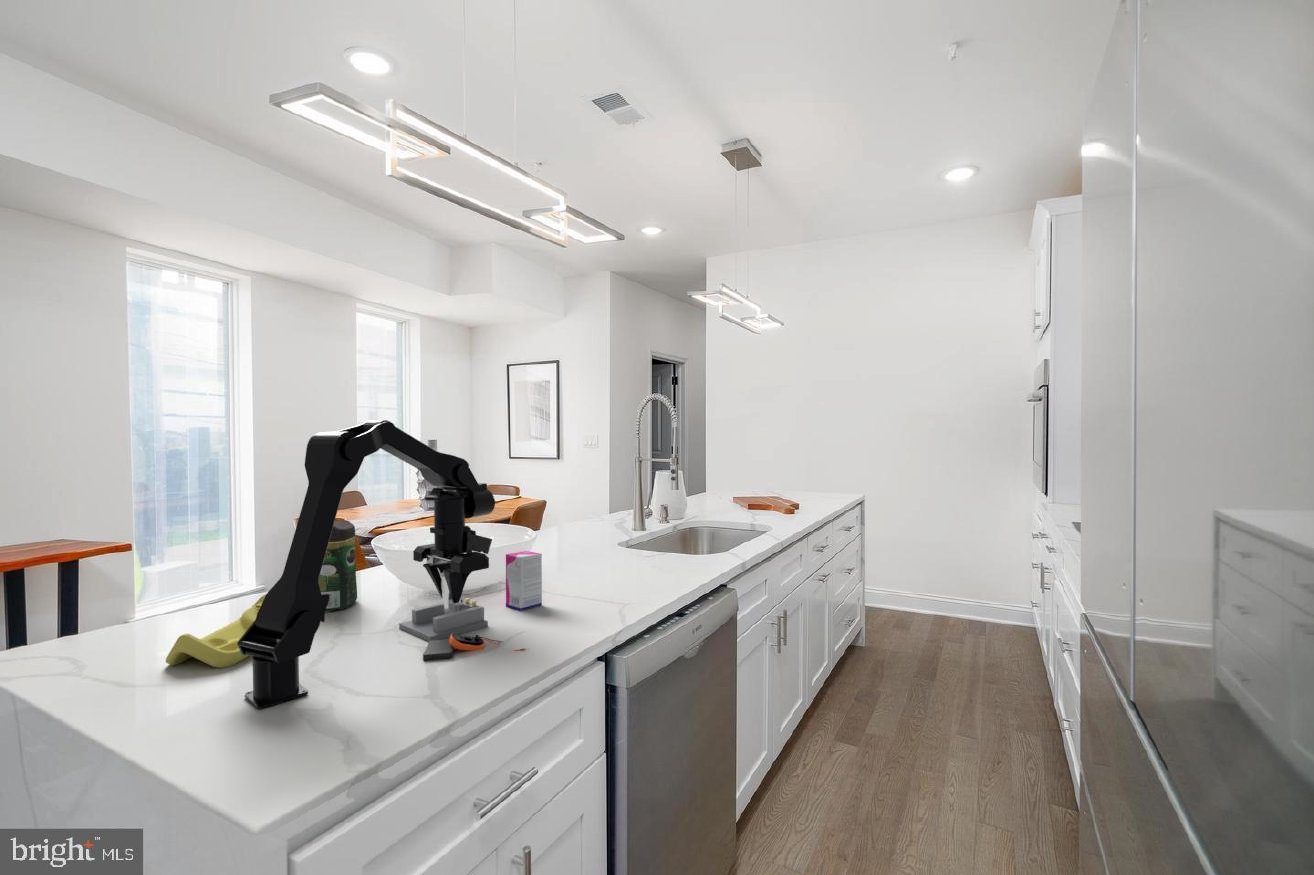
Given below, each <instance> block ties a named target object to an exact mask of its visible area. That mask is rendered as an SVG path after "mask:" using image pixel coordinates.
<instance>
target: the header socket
mask: <svg viewBox="0 0 1314 875" xmlns="http://www.w3.org/2000/svg"><path fill="white" fill-rule="evenodd" d="M470 601H471V600H470V598H469V597H467V598H465V600H464V598H463V599H462V610H461V611H457V612H453V613H449V614H445V615H444V610H443V601H442V602H438V603H435V604H434V603H433V604H430V605H426V606H425V605H424V606H421V607H415V608H413V609H411V620H408V621H402V622H399V624H398V625H399V627H398V629H399V630H402V631H404V632H406V633H409V634H410V635H413V636H415V637H417V638H420V639H422V640H424V641H426V642H428V643H429V641H432V640H442V639H449V638H450V636H451V634H458V635H462V634H466V633H469V632H472V631H476V630H479V629H484V628H485V627H488V626H489V621H488V620H486V619H485V606H482V605H480V604H477V600H472V602H470Z"/></svg>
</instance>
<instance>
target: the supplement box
mask: <svg viewBox="0 0 1314 875" xmlns="http://www.w3.org/2000/svg"><path fill="white" fill-rule="evenodd" d="M542 556H543V554H542V553H540V552H535V551H534V552H533V551H530V550H529V551H527V550H523V551H518V552H517V551H516V552H511V553H506V554H505V607H507V608H510V609H513V610H518V611H521V612H523V611H527V610H530V609H533V608H538V607H540V606H543V574H542V573H543V572H542V570H543V566H542V560H543V559H542V558H543V557H542Z"/></svg>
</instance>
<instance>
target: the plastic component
mask: <svg viewBox="0 0 1314 875" xmlns="http://www.w3.org/2000/svg"><path fill="white" fill-rule="evenodd" d="M266 594H267V593H266ZM266 594H264V595H262V596H260V598H258V600H257V601H256V602H255V603H254V604H252V606H251V607H249V608H248V609H246V610H244V611H243V613H242V615H241V617H239V618H238V619H236V620H235V621H233V622H230V623H229V624H227V625H225V626H222V628H219V629H217V630H215V631H213V632H211V633H209V634H208V635H205V636H204V637H203V636H202V637H201V638H197V637H196V636H194V635H192V634H190V633H184V634H181V635H180V636H178V638H177V639H176V641H175V643H174V645H173V646H172V647H171V649H170V651H169V653H168V655H166V656H167V657H166V658H165V663H166V664H168V665H170V666H177V665H179V664H181V663H183V662H185V661H188V660H189V659H192V658H195V659H197V660H199V661H201V662H203V663H205V664H207V665H209V666H211V667H214V668H220V669H222V668H229V667H232V666H235V665H236V664H238V663H240V662H241V661H243V660H245V659H246V658H248V657H251V656H250V655H243V654H241V651H240V649H239V647H238V645H237V643H238V641H239V640H240V639H241V637H242V636H243V635H244V633H245V632H246V631H247V630H248V628H249V627H250V626H251V625H252V623H253V622H254V621H255V620H256V616H257V613H258V611H259V609H260V607H261V605H262V602H263V600H264V598H265V596H266Z"/></svg>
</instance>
